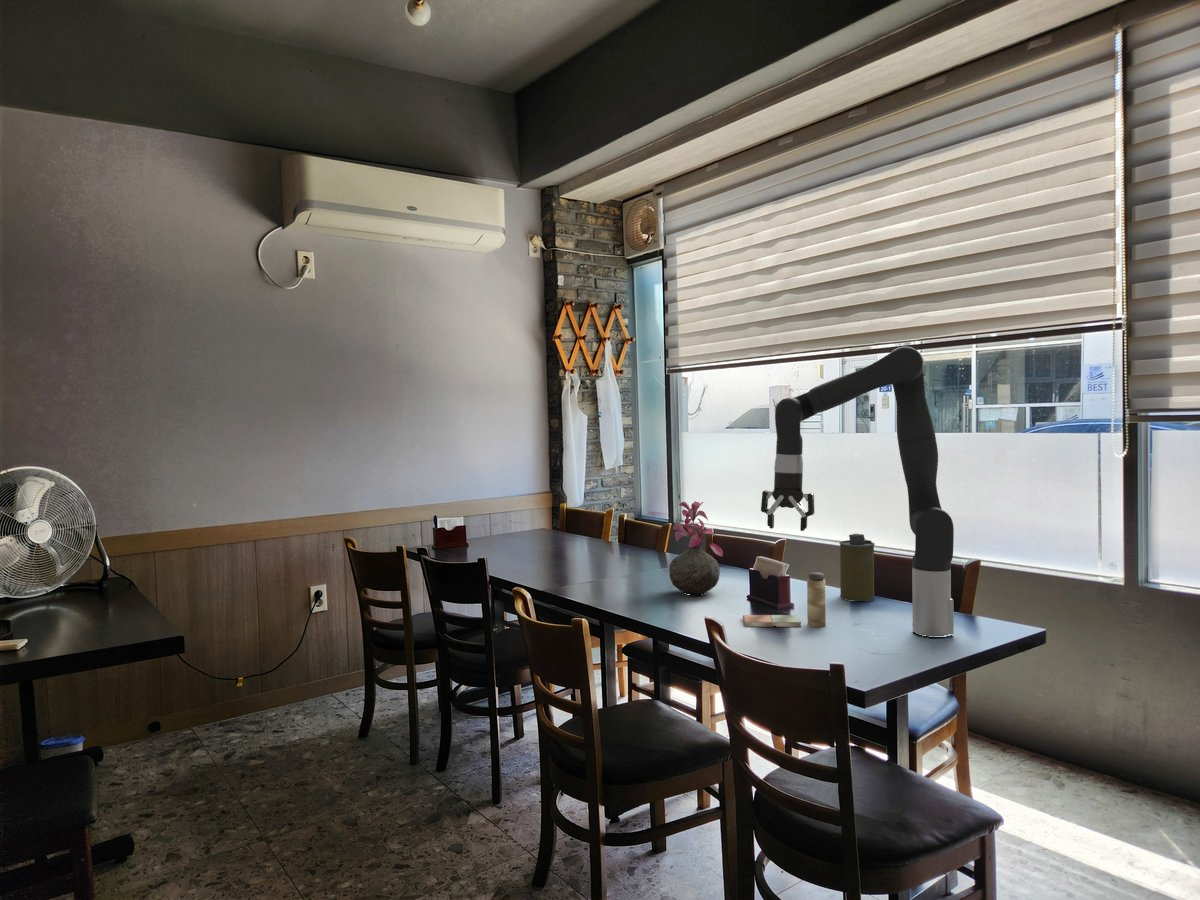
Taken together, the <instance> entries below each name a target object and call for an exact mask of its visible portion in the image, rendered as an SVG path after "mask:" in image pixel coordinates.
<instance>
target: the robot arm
mask: <svg viewBox="0 0 1200 900" xmlns="http://www.w3.org/2000/svg"><path fill="white" fill-rule="evenodd" d="M924 370H925V361H924V358H923V355H922V354H921V353H920V352H919V351H918V350H917V349H916V348H913V347H912V346H899V347H897V348H895V349H892V350H891V352H889V353H888V354H887V355H884V356H883V357H882V358H880V359H879V360H877V361H875V362H872V363H871V364H869V365H867V366H865V367H863V368H861V369H859V370H855V371H853V372H851V373H847V374H845V375H842V376H839V377H836V378H835V379H831V380H828V381H827V382H824V383H821V384H819V385H817V386H814V387H813V388H811V389H809V390H808V391H807V392H804V393H803V394H799V395H798V396H795V397H792V398H791V397H787V398H783V399H781V400H779V402H778V403H777V405H776V407H775V409H774V411H775V412H774V421H775V422H774V423H775V424H774V425H775V431H776V432H775V433H776V444H775V445H776V449H775V452H776V453H775V459H774V466H773V467H774V476H773V477H774V478H773V479H774V480H773V482H774V483H773V490H772V491H771V490H767V489H766V490H763V491H762V492H761V502H760V504H761V506H760V511H761V513H764V514H766V515H767V523H766V525H767V527H769V529H774V527H775V514H774V513H775V512H776V510H777V509H778V508H789V509H794V508H795V509H796V511H797V512H798V513H799V515H800V516H801V517H800V531H801V532H804V531H805V530H806V529H807V527H808V517H810V516H814V514H815V494H814V493H813V492H810V493H804V491H803V477H804V475H803V473H804V471H803V470H804V469H803V467H804V459H803V447H804V446H803V444H804V443H803V436H802V434H801V422H803V421H806V420H807V419H809V418H812V417H813V416H815V415H817V414H820V413H822V412H826V411H828V410H831V409H834V408H836V407H839V406H841V405H843V404H846V403H848V402H850V401H852V400H854V399H856V398H858V397H860V396H862V395H864V394H867V393H869V392H871V391H874V390H876V389H878V388H879V389H880V388H883V387H886V386H891V385H892V389H893V393H894V397H895V403H896V418H895V419H896V437H897V443H898V450H899V456H900V457H899V458H900V461H901V466H902V470H903V475H904V480H905V484H906V489H907V496H908V497H907V498H908V514H909V515H908V517H909V518H908V521H909V526H910V530H911V532H912V533H913V534H914V536H915V545H914V547H915V550H914V554H913V556H912V560H911V561H912V563H911V565H912V566H911V567H912V570H911V571H912V573H911V574H912V576H911V577H912V578H911V579H912V583H911V584H912V585H911V586H912V587H911V588H912V589H911V590H912V591H911V592H912V593H911V594H912V595H911V596H912V597H911V598H912V603H911V604H912V608H911V609H912V613H911V614H912V617H911V618H912V625H911V626H912V633H913V632H915V633H917V634H921V635H926V636H944V635H948V634H954V632H955V631H954V628H955V627H954V622H955V621H954V613H955V612H954V609H955V608H954V599H953V598H952V595H951V594H952V593H951V591H952V589H951V588H952V584H951V583H952V582H951V581H952V578H951V577H952V574H951V573H952V572H951V570H952V568H951V567H952V566H951V565H952V561H953V558H954V541H955V540H954V539H955V538H954V536H955V535H954V523H953V519H952V517H951V516H950V514H949V513H948V512H946V511H945V510H943V509H942V506H941V501H940V498H939V493H938V488H937V476H938V466H939V451H938V443H937V437H936V431H935V428H934V424H933V419H932V416H931V412H930V409H929V405H928V403H927V401H928V400H927V398H926V390H925V389H926V388H925V375H924V374H925V371H924ZM771 497H773V499H774V502H773V504H772V505H771V506H770V508H768V507H769V499H770V498H771ZM803 498H804V499H805V502H807V511H806V509H805V508H804V505H803V504H802V500H803ZM954 635H955V634H954Z"/></svg>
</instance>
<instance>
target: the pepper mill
mask: <svg viewBox="0 0 1200 900" xmlns="http://www.w3.org/2000/svg"><path fill="white" fill-rule="evenodd" d="M806 585H807V586H806V588H807V589H806V594H807V595H806V597H807V599H806V601H807V602H806V605H807V615H806V616H807V626H809V627H812V628H823V627H826V626H827V625H826V624H827V623H826V622H827V621H826V613H827V612H826V609H827V608H826V579H825V578H824V573H823V572H815V571H813V572H811V571H810V572H809V573H808V578H807V579H806Z"/></svg>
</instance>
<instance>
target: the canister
mask: <svg viewBox="0 0 1200 900" xmlns="http://www.w3.org/2000/svg"><path fill="white" fill-rule="evenodd" d="M848 537H849V539H848V540H841V541H839V553H840V554H839V558H840V560H839V561H840V563H839V564H840V565H839V568H840V569H839V571H840V573H839V575H840V579H839V580H840V581H839V582H840V588H839V589H840V594H839V598H840V597H841V598H840V599H842V598H843V599H842V600H844V599H847V600H854V601H853V602H856V601H866V602H871V601H870V600H872V601H874V600H875V599H874V597H875V542H873V541H872V540H869V539H866V538H865V534H862V533H861V534H860V533H852V534H849V535H848ZM873 599H874V600H873ZM847 600H846V601H847Z"/></svg>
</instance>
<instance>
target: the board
mask: <svg viewBox="0 0 1200 900" xmlns="http://www.w3.org/2000/svg"><path fill="white" fill-rule="evenodd" d="M742 620H743V624H744V626H745V627H765V628H766V627H772V628H773V626H776V628H777V627H782V628H783V627H785V628H787V627H792V628H793V627H794V628H801V627H802V624H801V623H802V622H801V621H800V619H799V618H798V616H797V614H796V615H795V614H792V615H791V614H770V615H769V614H743V615H742Z"/></svg>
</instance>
